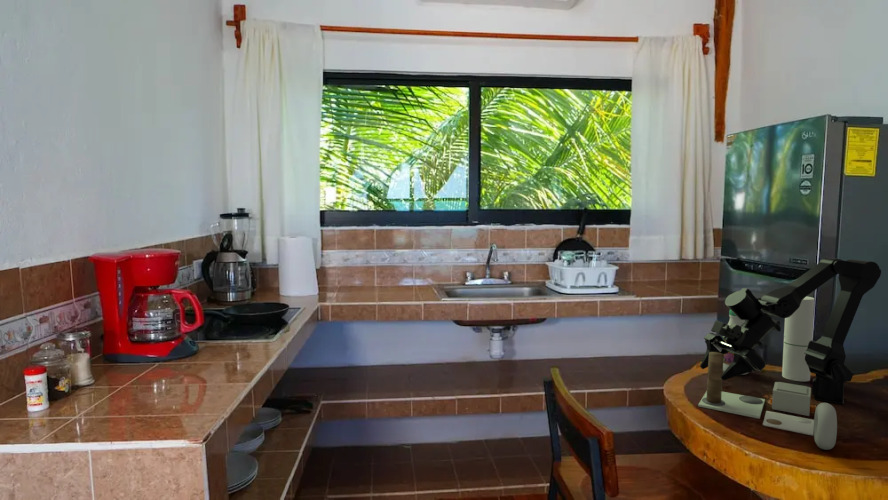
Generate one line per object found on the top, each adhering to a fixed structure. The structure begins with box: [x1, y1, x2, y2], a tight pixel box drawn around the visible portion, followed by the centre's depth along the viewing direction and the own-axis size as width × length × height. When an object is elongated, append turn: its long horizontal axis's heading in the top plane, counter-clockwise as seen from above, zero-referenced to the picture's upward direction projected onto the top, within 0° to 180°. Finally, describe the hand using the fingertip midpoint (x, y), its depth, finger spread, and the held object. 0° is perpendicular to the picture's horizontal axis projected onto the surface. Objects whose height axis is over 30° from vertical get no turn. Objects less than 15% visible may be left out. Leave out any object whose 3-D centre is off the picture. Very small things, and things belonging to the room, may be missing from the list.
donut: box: [813, 402, 838, 451], centre depth 114 cm, size 10×3×10 cm, turn 149°
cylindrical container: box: [781, 296, 815, 382], centre depth 159 cm, size 7×7×25 cm
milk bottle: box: [722, 308, 749, 376], centre depth 165 cm, size 8×8×20 cm
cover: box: [771, 381, 812, 417], centre depth 137 cm, size 8×8×5 cm
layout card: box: [762, 410, 814, 437], centre depth 127 cm, size 10×10×1 cm
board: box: [697, 390, 766, 420], centre depth 140 cm, size 14×14×1 cm
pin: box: [706, 352, 724, 404], centre depth 139 cm, size 4×4×13 cm
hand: (711, 373), depth 139 cm, fingers open, 9 cm apart
